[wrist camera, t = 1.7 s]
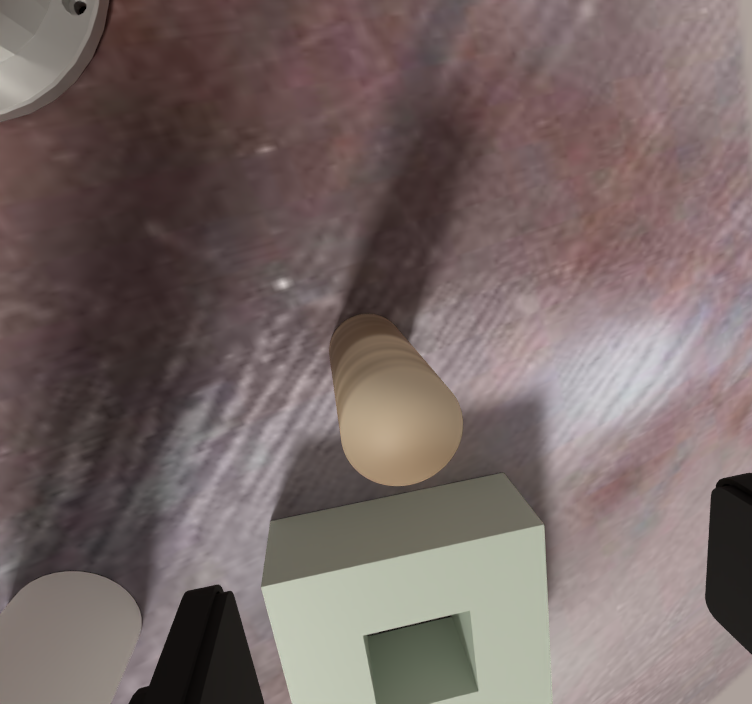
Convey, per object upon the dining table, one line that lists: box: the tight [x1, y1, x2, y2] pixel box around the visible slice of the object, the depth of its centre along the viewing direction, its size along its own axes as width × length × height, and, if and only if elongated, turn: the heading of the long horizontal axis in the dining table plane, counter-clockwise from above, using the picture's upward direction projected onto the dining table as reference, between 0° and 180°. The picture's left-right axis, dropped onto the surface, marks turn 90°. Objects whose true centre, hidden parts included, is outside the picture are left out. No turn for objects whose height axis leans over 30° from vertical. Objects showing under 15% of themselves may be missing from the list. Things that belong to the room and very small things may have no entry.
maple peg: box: [329, 314, 463, 486], centre depth 19 cm, size 4×4×10 cm
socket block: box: [261, 473, 553, 704], centre depth 26 cm, size 14×14×5 cm
